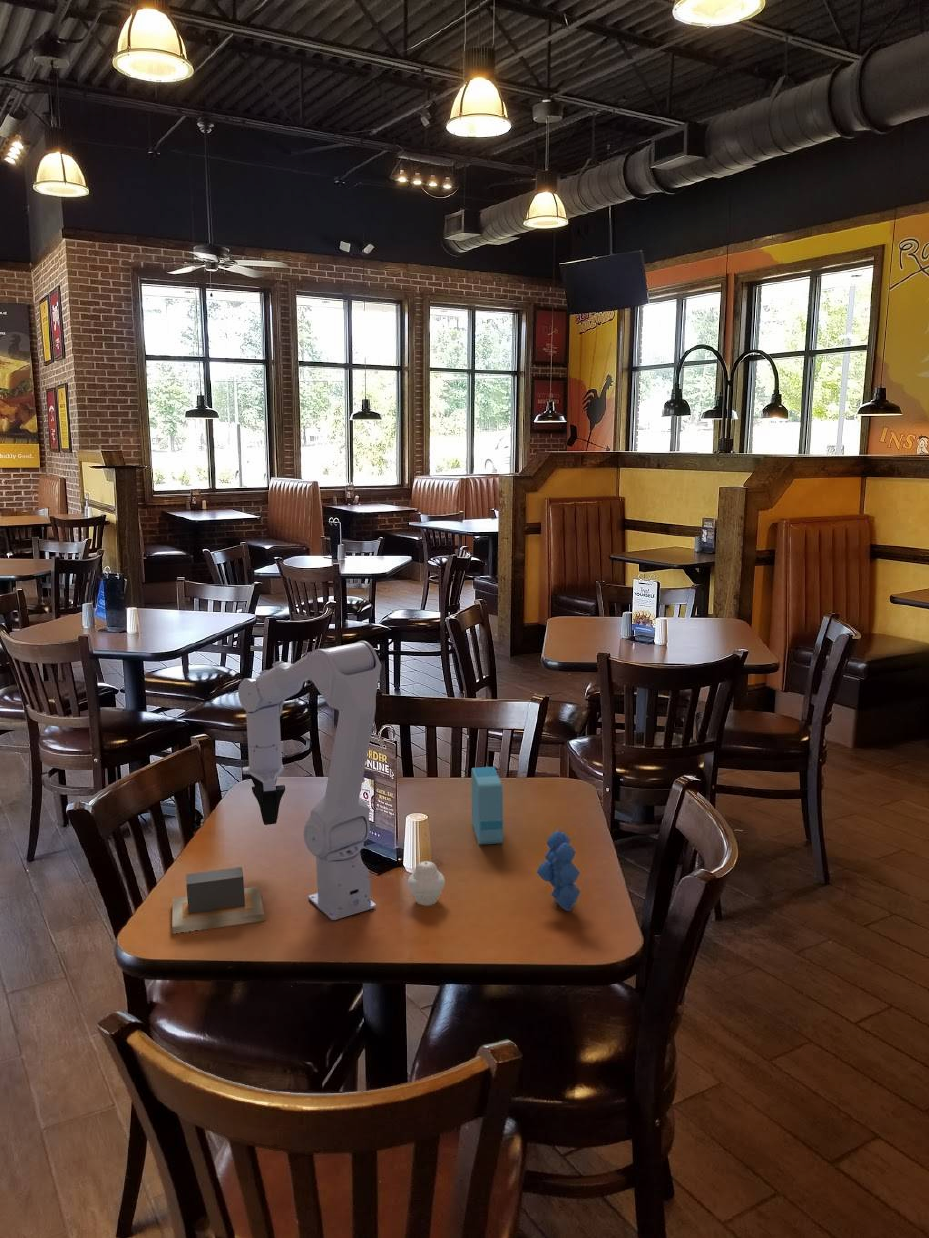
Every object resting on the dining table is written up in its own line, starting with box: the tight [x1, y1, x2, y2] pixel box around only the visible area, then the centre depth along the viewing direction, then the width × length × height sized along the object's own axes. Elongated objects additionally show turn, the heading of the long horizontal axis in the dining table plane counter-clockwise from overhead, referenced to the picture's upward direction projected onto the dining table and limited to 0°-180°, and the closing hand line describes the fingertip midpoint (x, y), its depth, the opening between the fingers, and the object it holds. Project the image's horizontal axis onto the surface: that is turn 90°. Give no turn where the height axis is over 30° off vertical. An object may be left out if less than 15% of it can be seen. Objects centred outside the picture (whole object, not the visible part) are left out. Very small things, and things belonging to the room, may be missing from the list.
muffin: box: [407, 860, 446, 907], centre depth 157 cm, size 6×6×7 cm
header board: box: [171, 886, 265, 935], centre depth 154 cm, size 14×10×4 cm
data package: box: [470, 766, 504, 845], centre depth 183 cm, size 12×4×12 cm, turn 6°
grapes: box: [536, 830, 581, 911], centre depth 155 cm, size 12×7×12 cm, turn 11°
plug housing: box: [185, 866, 245, 915], centre depth 154 cm, size 9×4×5 cm, turn 107°
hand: (268, 815), depth 170 cm, fingers open, 7 cm apart
